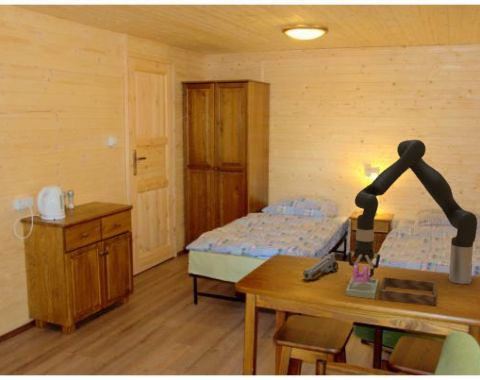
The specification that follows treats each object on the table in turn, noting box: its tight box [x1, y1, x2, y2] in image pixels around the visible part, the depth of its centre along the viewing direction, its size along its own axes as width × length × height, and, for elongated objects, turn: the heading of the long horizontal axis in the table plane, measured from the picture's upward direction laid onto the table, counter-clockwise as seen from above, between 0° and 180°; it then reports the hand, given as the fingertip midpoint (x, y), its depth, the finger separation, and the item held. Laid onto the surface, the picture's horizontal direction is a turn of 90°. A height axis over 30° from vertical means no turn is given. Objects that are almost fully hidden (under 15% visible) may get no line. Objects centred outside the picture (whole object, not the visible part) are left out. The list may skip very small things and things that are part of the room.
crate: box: [379, 276, 437, 307], centre depth 220 cm, size 22×19×4 cm
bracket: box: [352, 264, 372, 284], centre depth 226 cm, size 13×6×7 cm, turn 153°
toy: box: [302, 252, 339, 281], centre depth 246 cm, size 6×24×10 cm, turn 138°
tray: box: [345, 276, 380, 300], centre depth 227 cm, size 12×19×2 cm, turn 160°
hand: (363, 275), depth 226 cm, fingers closed on bracket, 6 cm apart
